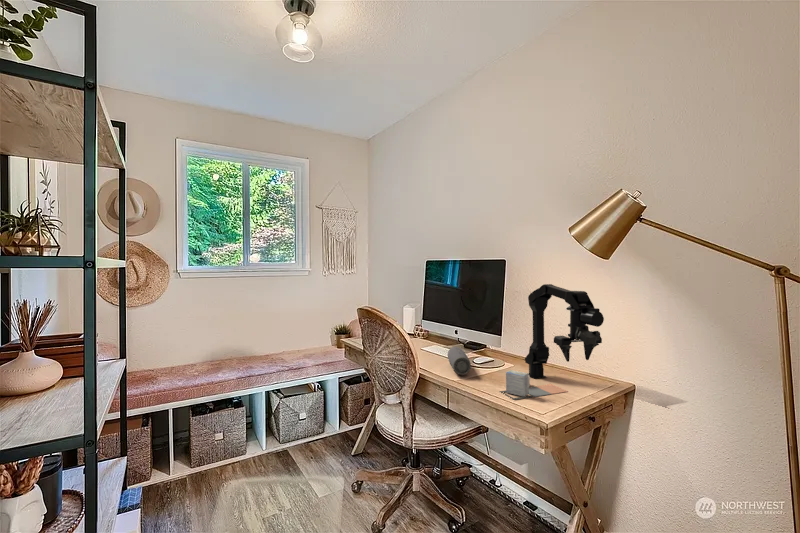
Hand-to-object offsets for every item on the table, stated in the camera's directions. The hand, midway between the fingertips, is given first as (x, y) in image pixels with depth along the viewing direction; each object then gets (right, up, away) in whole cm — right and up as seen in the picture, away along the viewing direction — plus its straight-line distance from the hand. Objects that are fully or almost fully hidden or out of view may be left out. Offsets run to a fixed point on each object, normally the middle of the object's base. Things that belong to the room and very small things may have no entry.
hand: (577, 360), depth 154 cm
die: (-19, -14, +12) cm, 27 cm away
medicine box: (-24, -14, +1) cm, 28 cm away
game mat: (-16, -14, +4) cm, 22 cm away
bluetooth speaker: (-43, -14, +36) cm, 58 cm away
